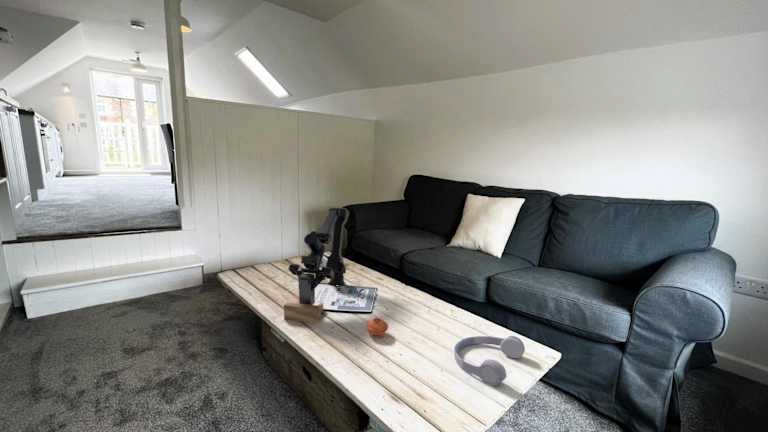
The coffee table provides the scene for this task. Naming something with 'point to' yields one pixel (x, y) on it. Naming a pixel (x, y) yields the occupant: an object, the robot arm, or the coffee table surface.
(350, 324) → the coffee table surface
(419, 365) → the coffee table surface
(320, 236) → the robot arm
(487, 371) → the headphones
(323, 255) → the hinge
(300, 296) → the stepped grey pillar
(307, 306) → the brown wooden frame
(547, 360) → the coffee table surface
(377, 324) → the pot
